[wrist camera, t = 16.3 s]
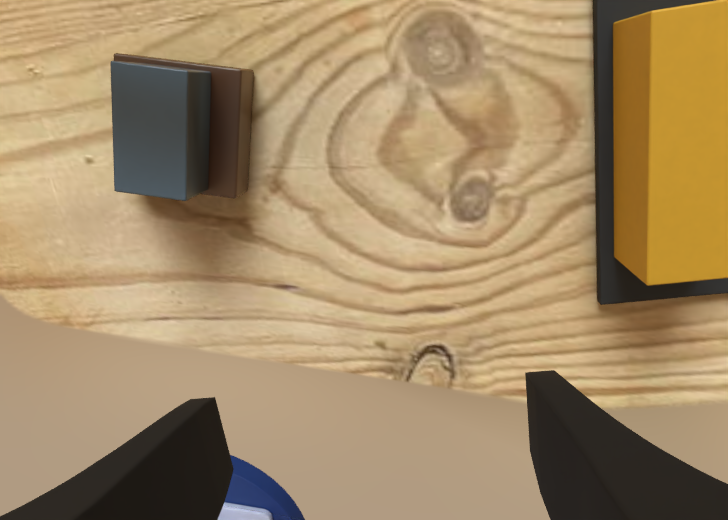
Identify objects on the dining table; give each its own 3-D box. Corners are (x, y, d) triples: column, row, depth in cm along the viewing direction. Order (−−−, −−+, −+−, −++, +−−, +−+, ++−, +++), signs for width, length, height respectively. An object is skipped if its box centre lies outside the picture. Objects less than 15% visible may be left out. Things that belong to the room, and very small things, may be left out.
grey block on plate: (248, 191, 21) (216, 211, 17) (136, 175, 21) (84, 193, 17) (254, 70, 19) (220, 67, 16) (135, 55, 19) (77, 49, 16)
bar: (700, 248, 19) (749, 276, 16) (613, 257, 20) (646, 286, 17) (711, 7, 17) (771, -9, 14) (612, 22, 17) (650, 10, 14)
